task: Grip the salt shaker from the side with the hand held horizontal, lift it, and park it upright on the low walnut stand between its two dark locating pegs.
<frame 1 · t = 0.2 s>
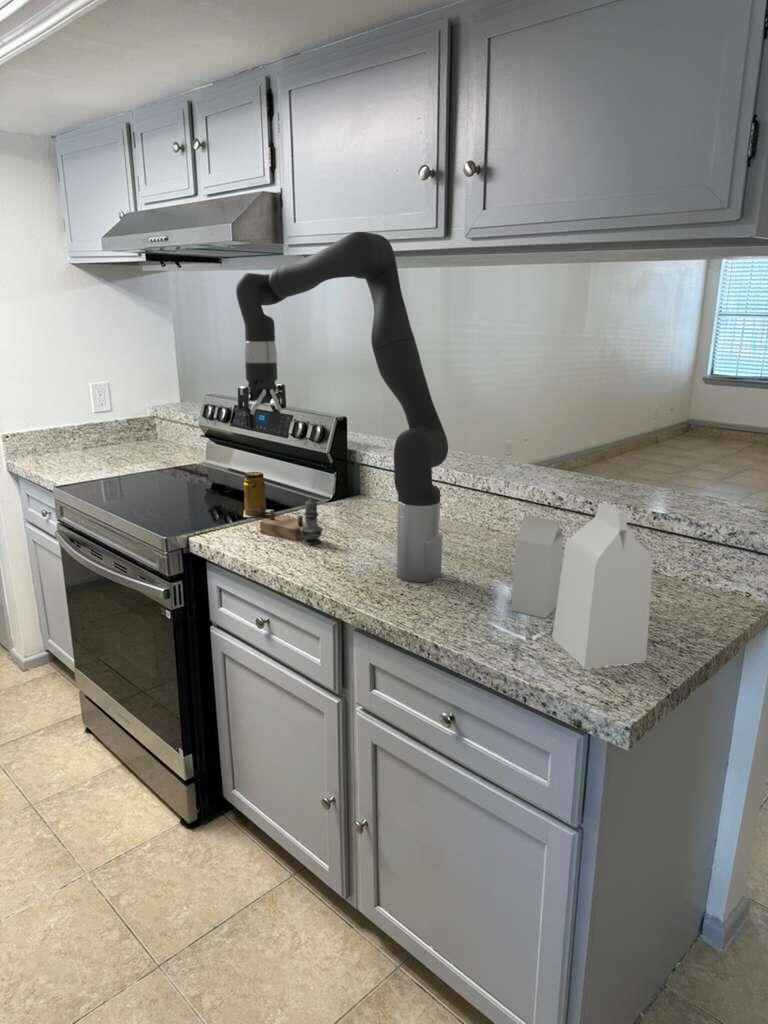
hand: (263, 428, 177), 29 cm above the worktop, tool pointing down, fingers open, 8 cm apart
milk carton: (534, 610, 144), on the worktop
walnut stand: (286, 533, 190), on the worktop
condiment: (258, 514, 208), on the worktop
milk: (597, 651, 126), on the worktop
salt shaker: (311, 543, 183), on the worktop
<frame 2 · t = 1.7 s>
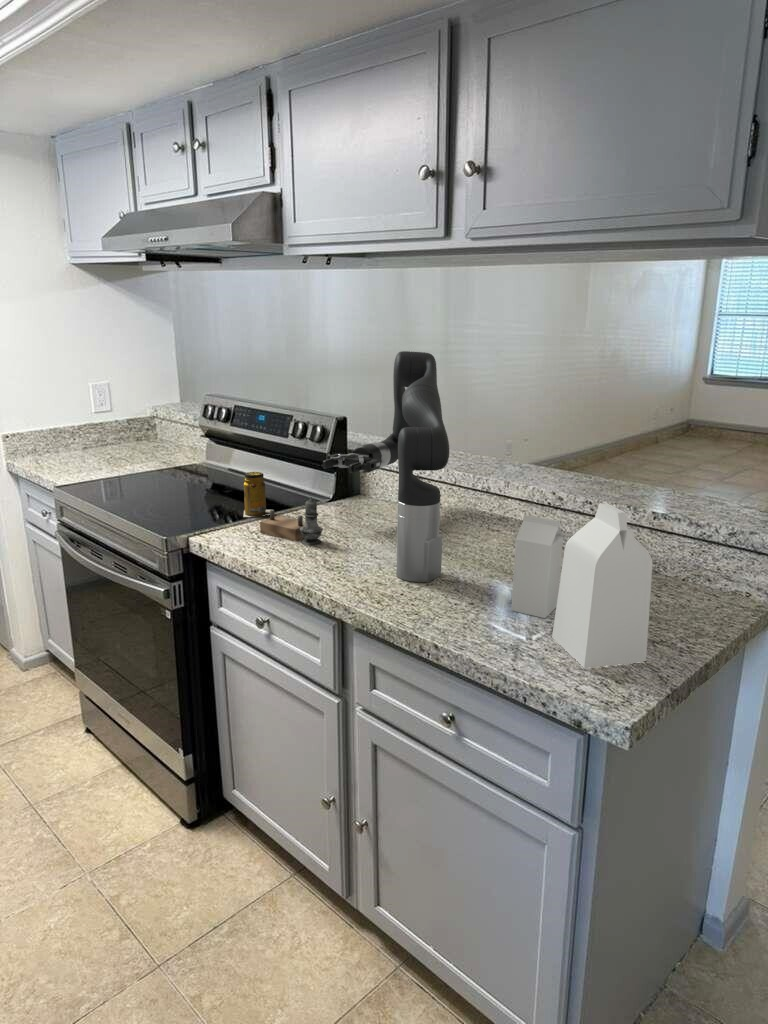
hand: (337, 467, 187), 18 cm above the worktop, tool horizontal, fingers open, 8 cm apart
nothing on the worktop moved.
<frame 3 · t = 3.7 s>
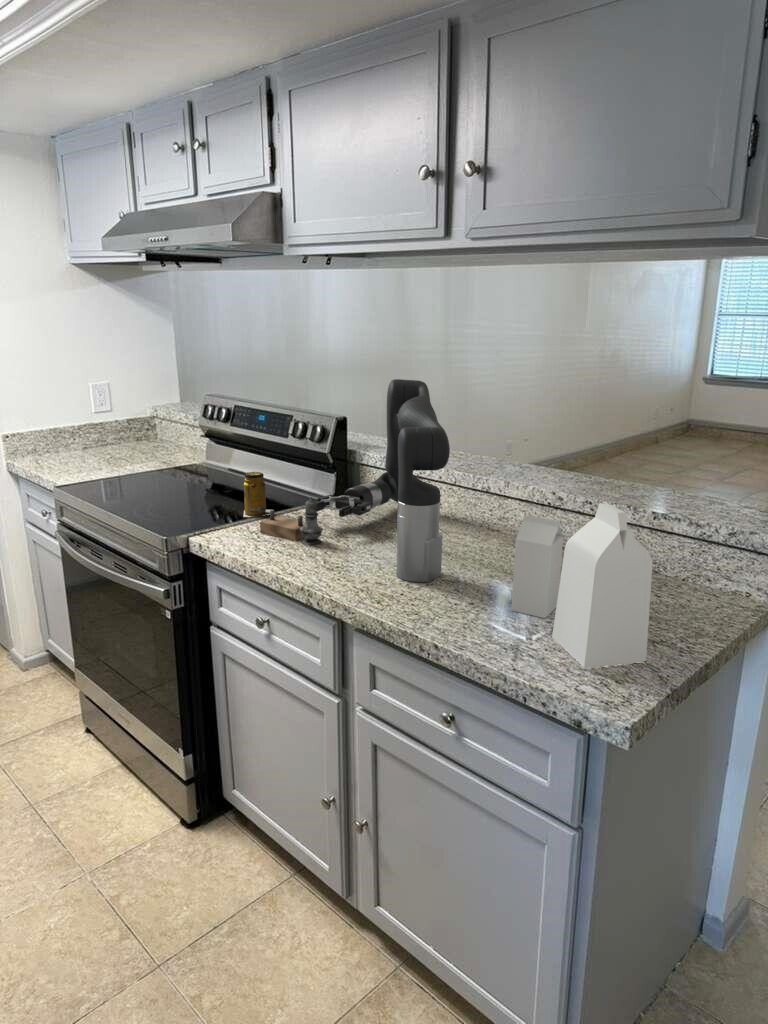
hand: (327, 510, 186), 7 cm above the worktop, tool horizontal, fingers open, 8 cm apart
nothing on the worktop moved.
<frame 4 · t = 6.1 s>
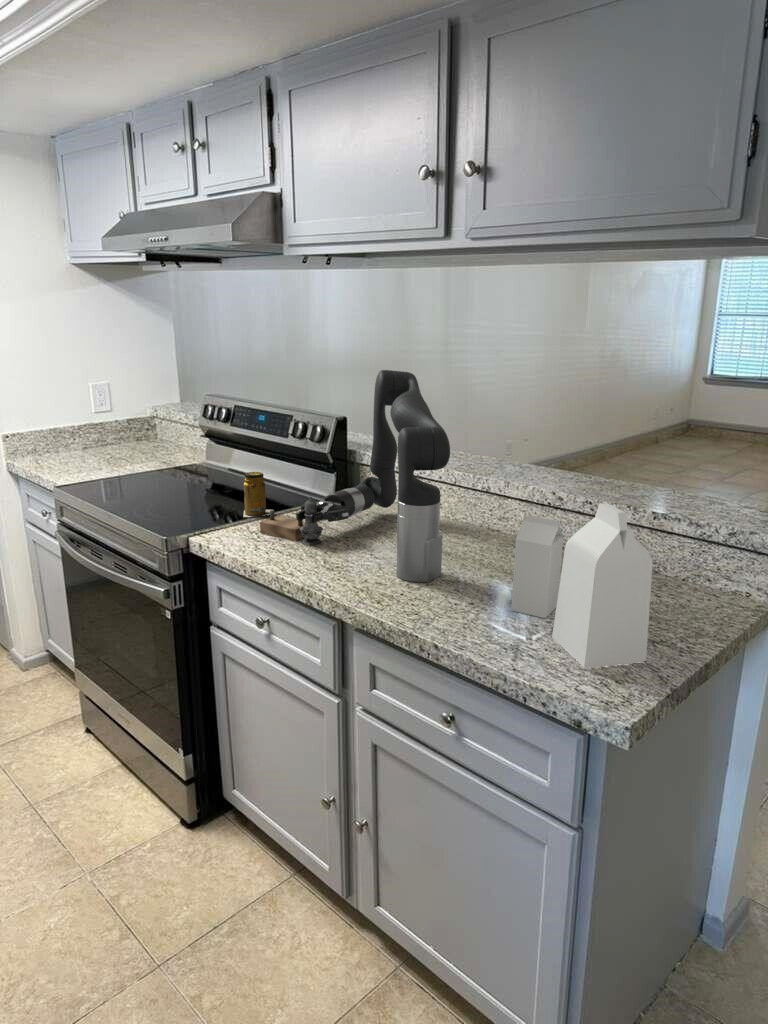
hand: (304, 518, 179), 7 cm above the worktop, tool horizontal, fingers closed on salt shaker, 3 cm apart
salt shaker: (311, 542, 183), on the worktop, touching gripper
everything else where it was.
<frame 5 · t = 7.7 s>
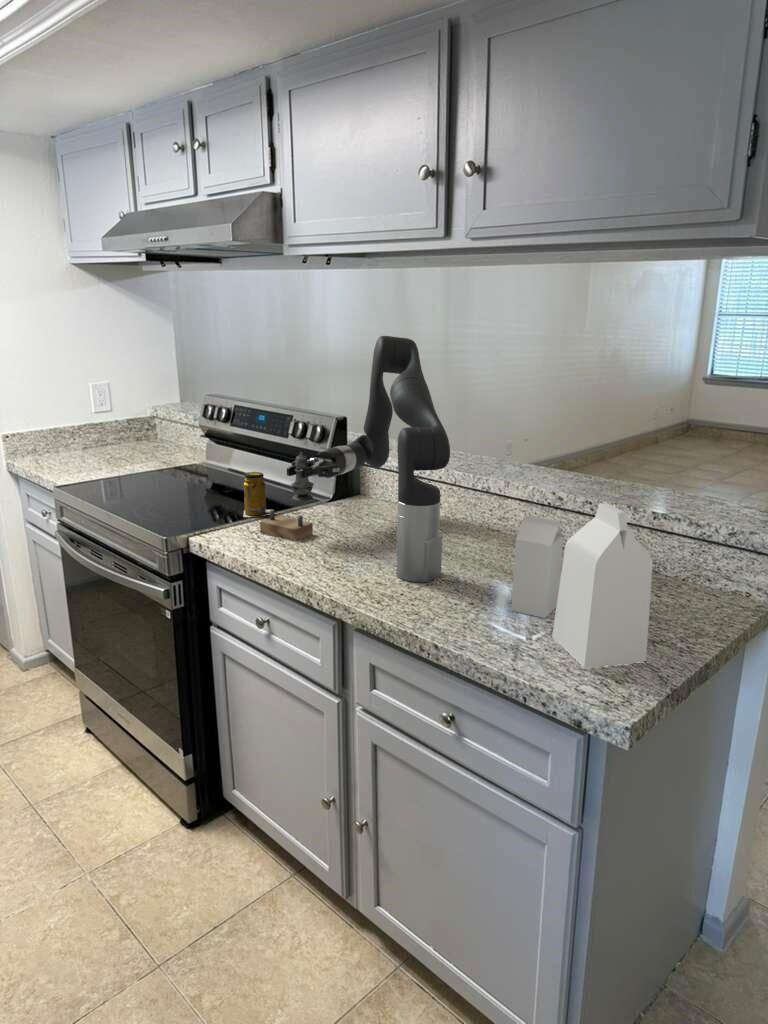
hand: (294, 473, 179), 18 cm above the worktop, tool horizontal, fingers closed on salt shaker, 3 cm apart
salt shaker: (302, 498, 183), point 11 cm above the worktop, touching gripper
everything else where it was.
when the fingers open (11 cm above the worktop, at t = 9.7 s): salt shaker drops 1 cm, resting on walnut stand.
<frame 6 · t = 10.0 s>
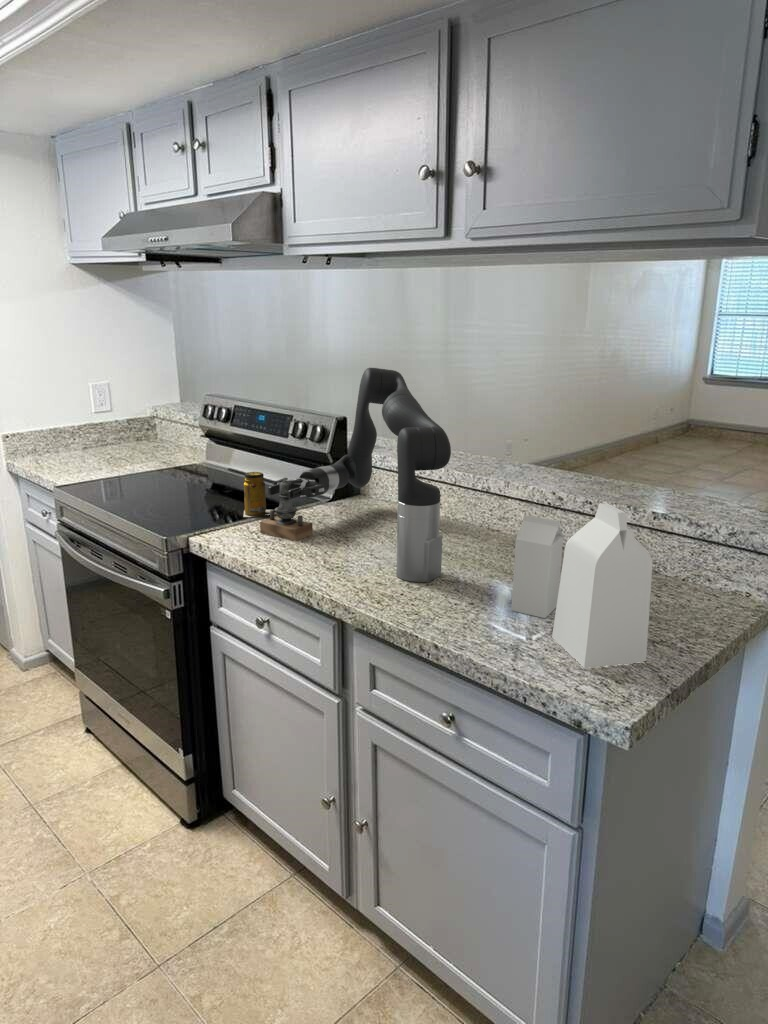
hand: (279, 492, 185), 11 cm above the worktop, tool horizontal, fingers open, 6 cm apart
salt shaker: (286, 522, 189), point 3 cm above the worktop, touching walnut stand
everything else where it was.
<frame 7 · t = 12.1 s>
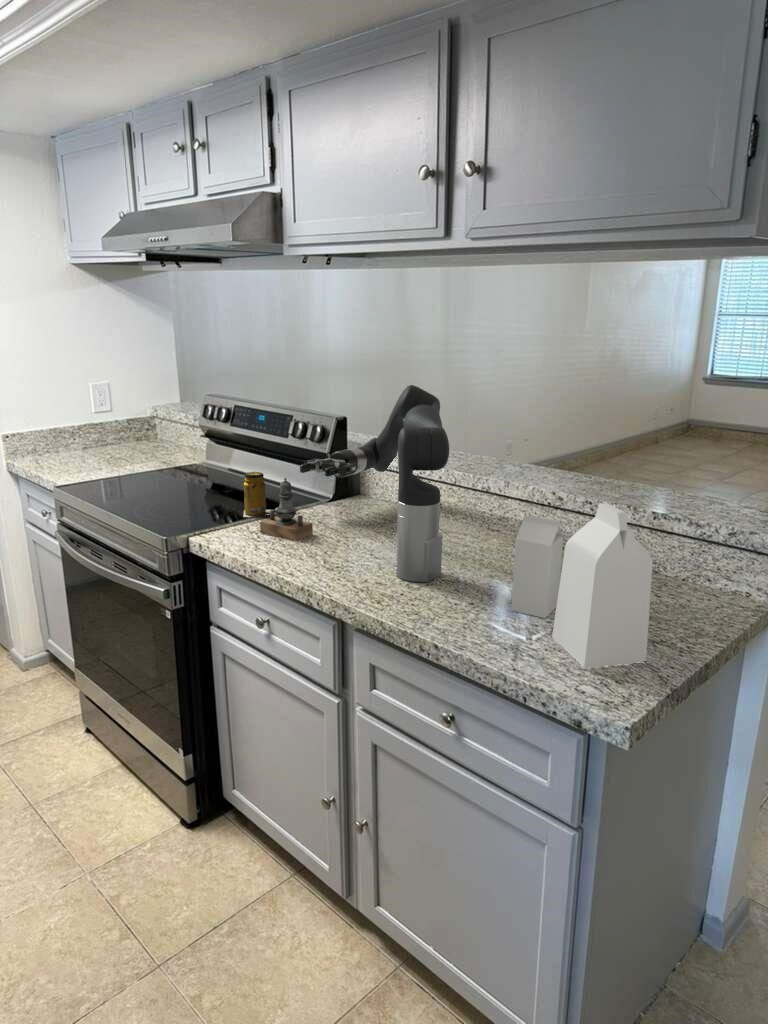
hand: (313, 470, 194), 15 cm above the worktop, tool horizontal, fingers open, 8 cm apart
nothing on the worktop moved.
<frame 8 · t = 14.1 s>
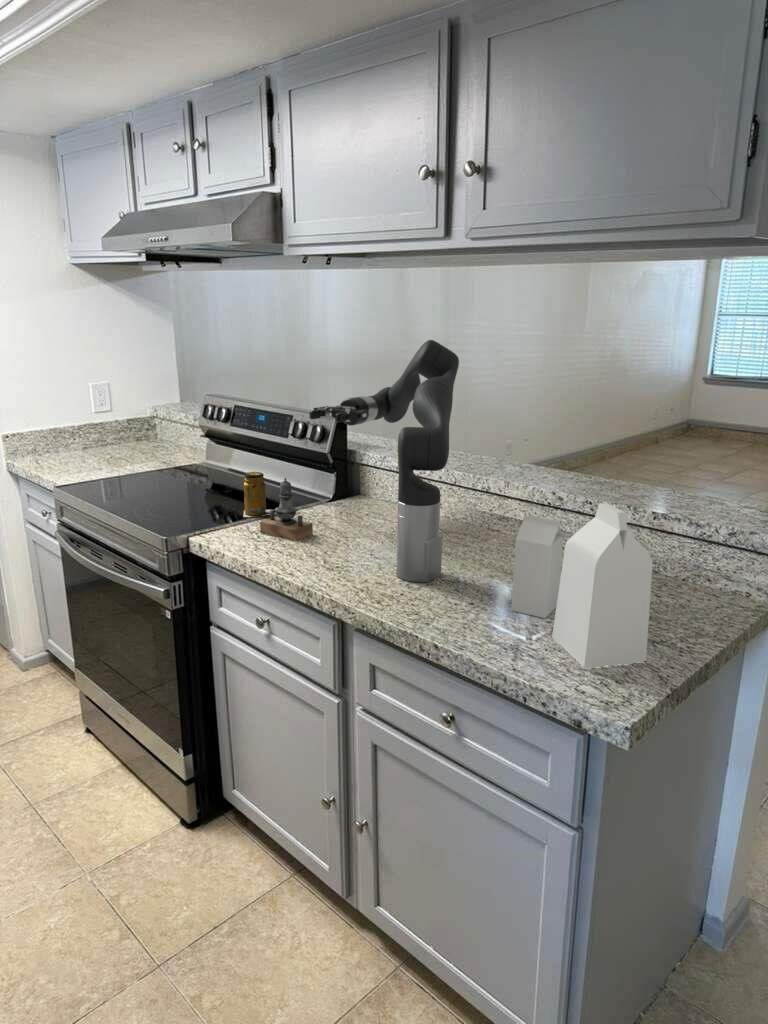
hand: (323, 416, 189), 30 cm above the worktop, tool horizontal, fingers open, 8 cm apart
nothing on the worktop moved.
at the end: salt shaker inside the target area on the walnut stand (0.1 cm from its centre), point 2.8 cm above the walnut stand's base; salt shaker tilted 0°; the gripper is holding nothing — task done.
